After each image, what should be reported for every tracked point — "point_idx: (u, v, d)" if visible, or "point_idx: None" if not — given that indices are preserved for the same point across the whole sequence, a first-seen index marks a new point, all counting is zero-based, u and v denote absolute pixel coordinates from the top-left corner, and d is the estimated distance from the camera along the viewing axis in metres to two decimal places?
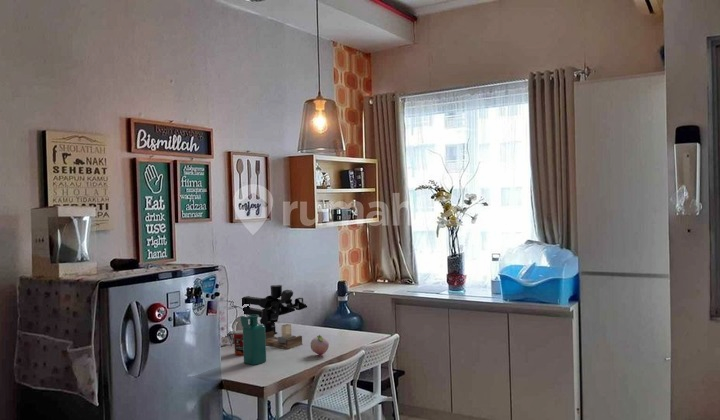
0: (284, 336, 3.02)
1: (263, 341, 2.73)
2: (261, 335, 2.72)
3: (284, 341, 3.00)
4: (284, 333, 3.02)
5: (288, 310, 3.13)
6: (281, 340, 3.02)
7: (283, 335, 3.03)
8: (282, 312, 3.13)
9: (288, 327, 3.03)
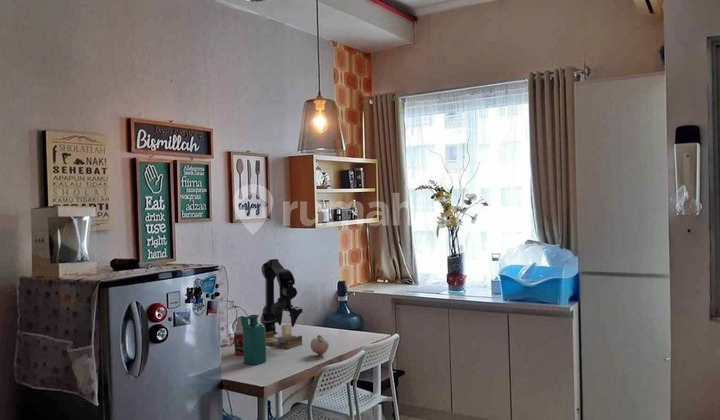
0: (284, 336, 3.02)
1: (263, 341, 2.73)
2: (261, 335, 2.72)
3: (284, 341, 3.00)
4: (284, 333, 3.02)
5: None
6: (281, 340, 3.02)
7: (283, 335, 3.03)
8: None
9: (288, 327, 3.03)
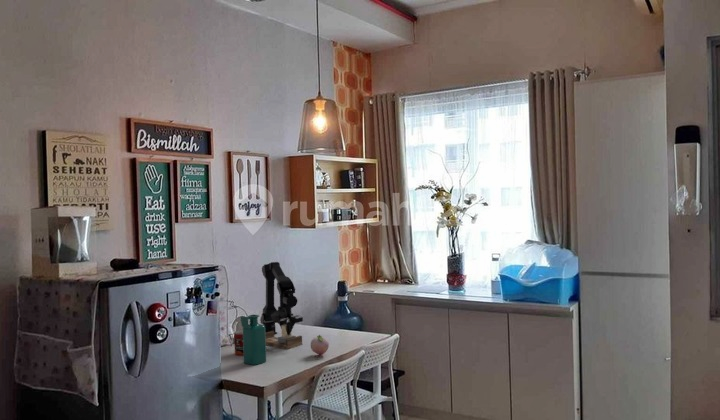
0: (284, 336, 3.02)
1: (263, 341, 2.73)
2: (261, 335, 2.72)
3: (284, 341, 3.00)
4: (284, 333, 3.02)
5: None
6: (281, 340, 3.02)
7: (283, 335, 3.03)
8: None
9: None
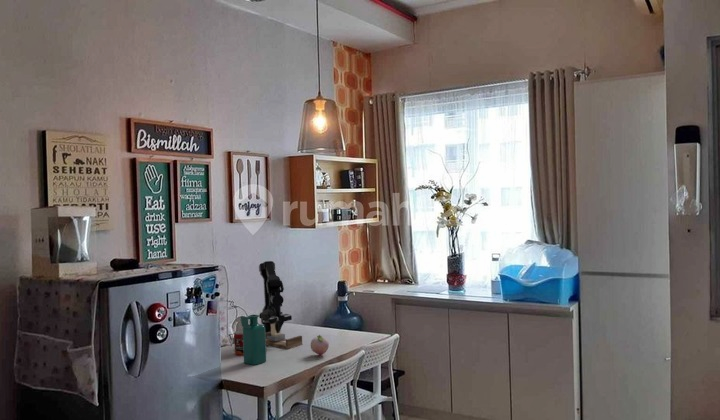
0: (273, 334, 3.07)
1: (263, 341, 2.73)
2: (261, 335, 2.72)
3: (273, 339, 3.05)
4: (273, 331, 3.07)
5: None
6: (270, 338, 3.06)
7: (272, 333, 3.07)
8: None
9: None
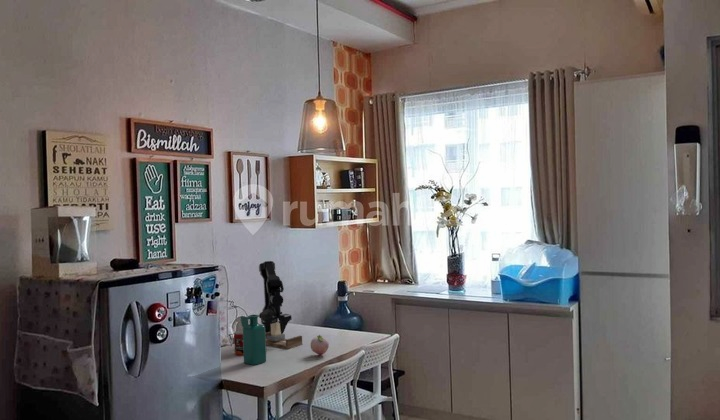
0: (273, 334, 3.07)
1: (263, 341, 2.73)
2: (261, 335, 2.72)
3: (273, 339, 3.05)
4: (273, 331, 3.07)
5: None
6: (270, 338, 3.07)
7: (272, 333, 3.08)
8: None
9: (277, 325, 3.08)
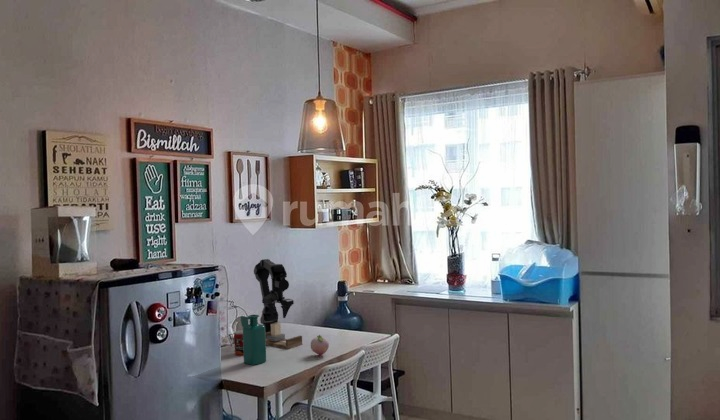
0: (273, 334, 3.07)
1: (263, 341, 2.73)
2: (261, 335, 2.72)
3: (273, 339, 3.05)
4: (273, 331, 3.07)
5: None
6: (270, 338, 3.07)
7: (272, 333, 3.08)
8: None
9: (277, 325, 3.08)
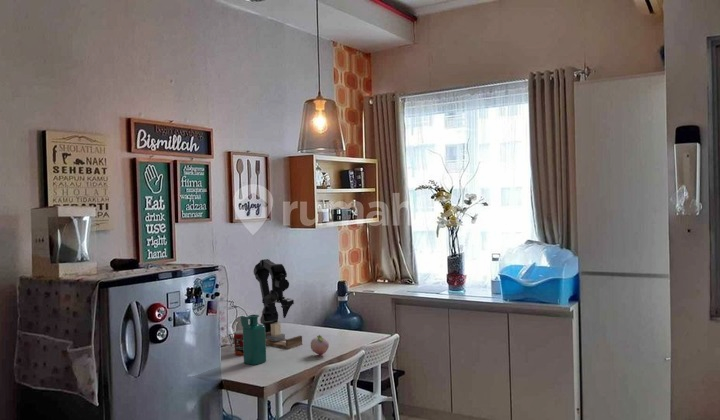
0: (273, 334, 3.07)
1: (263, 341, 2.73)
2: (261, 335, 2.72)
3: (273, 339, 3.05)
4: (273, 331, 3.07)
5: None
6: (270, 338, 3.07)
7: (272, 333, 3.08)
8: None
9: (277, 325, 3.08)
